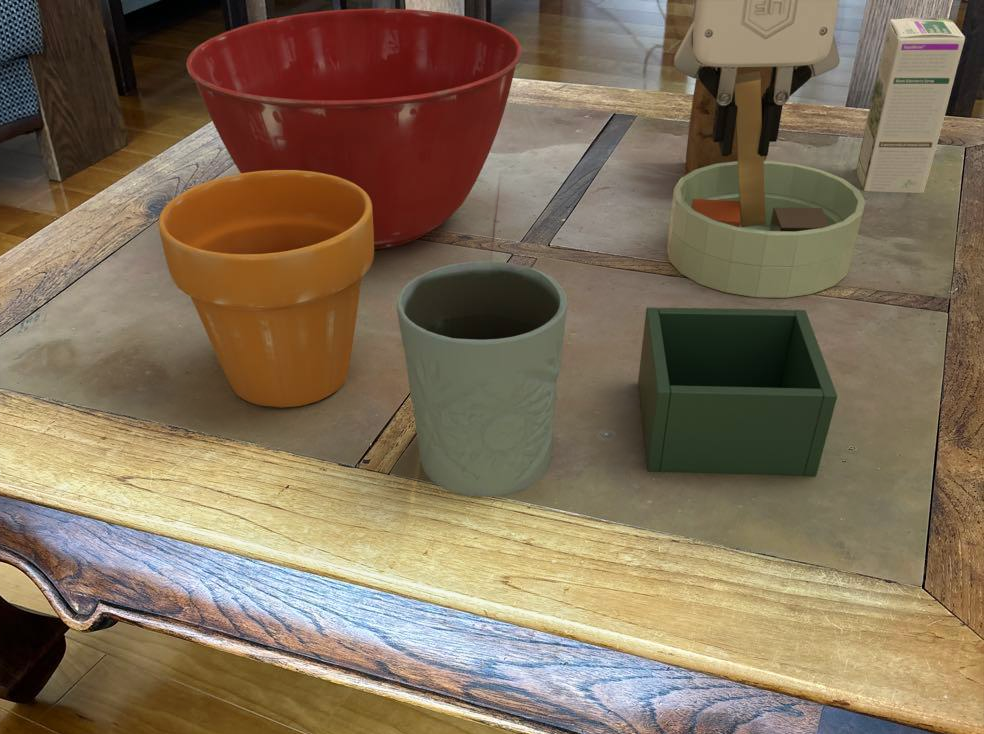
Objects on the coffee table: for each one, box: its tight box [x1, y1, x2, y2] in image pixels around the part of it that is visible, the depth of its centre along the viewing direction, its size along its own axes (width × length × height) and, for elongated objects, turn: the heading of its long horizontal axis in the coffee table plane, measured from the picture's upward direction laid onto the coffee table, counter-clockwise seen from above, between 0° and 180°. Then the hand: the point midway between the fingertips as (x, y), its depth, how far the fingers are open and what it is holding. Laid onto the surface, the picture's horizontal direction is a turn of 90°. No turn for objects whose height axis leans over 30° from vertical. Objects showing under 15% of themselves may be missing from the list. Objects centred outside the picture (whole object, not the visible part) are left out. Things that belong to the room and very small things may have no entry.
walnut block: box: [769, 208, 830, 232], centre depth 86 cm, size 4×4×4 cm
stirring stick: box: [734, 71, 766, 227], centre depth 84 cm, size 2×2×12 cm
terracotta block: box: [691, 199, 740, 227], centre depth 87 cm, size 4×4×4 cm
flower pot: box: [157, 170, 375, 408], centre depth 72 cm, size 14×14×13 cm
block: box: [684, 67, 771, 176], centre depth 95 cm, size 11×8×20 cm
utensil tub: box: [637, 307, 838, 478], centre depth 67 cm, size 11×11×7 cm
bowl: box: [666, 160, 866, 299], centre depth 87 cm, size 15×15×6 cm
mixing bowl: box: [185, 8, 523, 250], centre depth 92 cm, size 28×28×16 cm
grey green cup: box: [395, 261, 568, 498], centre depth 64 cm, size 10×10×12 cm
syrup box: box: [855, 17, 966, 194], centre depth 95 cm, size 6×6×14 cm
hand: (742, 148), depth 84 cm, fingers closed on stirring stick, 2 cm apart
